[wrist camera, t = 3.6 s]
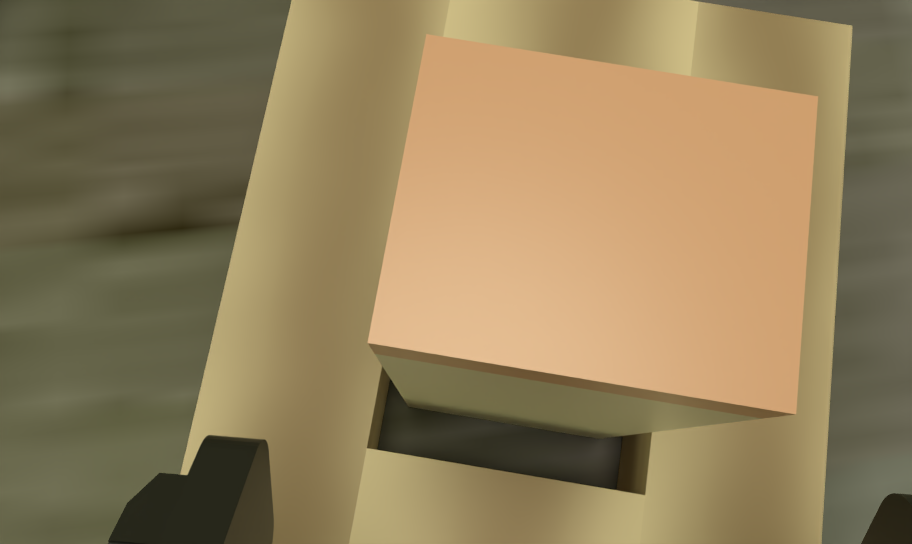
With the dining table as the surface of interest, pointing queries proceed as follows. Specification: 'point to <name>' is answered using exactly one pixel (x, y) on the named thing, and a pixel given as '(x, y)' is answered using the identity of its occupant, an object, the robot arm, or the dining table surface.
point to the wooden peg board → (360, 262)
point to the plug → (595, 245)
